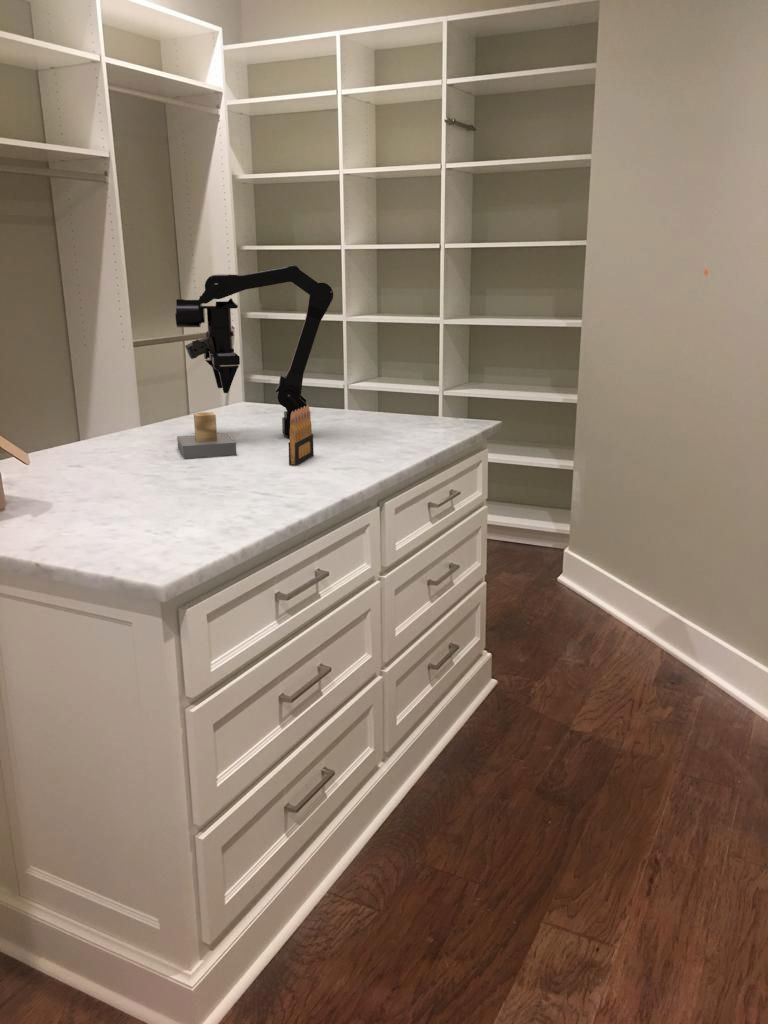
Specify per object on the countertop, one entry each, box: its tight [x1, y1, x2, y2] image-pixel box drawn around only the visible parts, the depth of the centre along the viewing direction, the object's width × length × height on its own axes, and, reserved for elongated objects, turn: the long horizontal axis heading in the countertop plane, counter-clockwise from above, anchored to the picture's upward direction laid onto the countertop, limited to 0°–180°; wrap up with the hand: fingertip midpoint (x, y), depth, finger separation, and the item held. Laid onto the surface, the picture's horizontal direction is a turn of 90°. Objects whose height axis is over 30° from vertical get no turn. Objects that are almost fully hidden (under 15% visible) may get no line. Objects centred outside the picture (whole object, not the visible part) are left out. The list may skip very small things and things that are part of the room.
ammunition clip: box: [288, 404, 315, 467], centre depth 189 cm, size 11×2×12 cm, turn 164°
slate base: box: [176, 432, 237, 460], centre depth 199 cm, size 12×12×3 cm
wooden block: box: [193, 411, 218, 442], centre depth 198 cm, size 4×4×6 cm
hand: (222, 390), depth 213 cm, fingers open, 9 cm apart
